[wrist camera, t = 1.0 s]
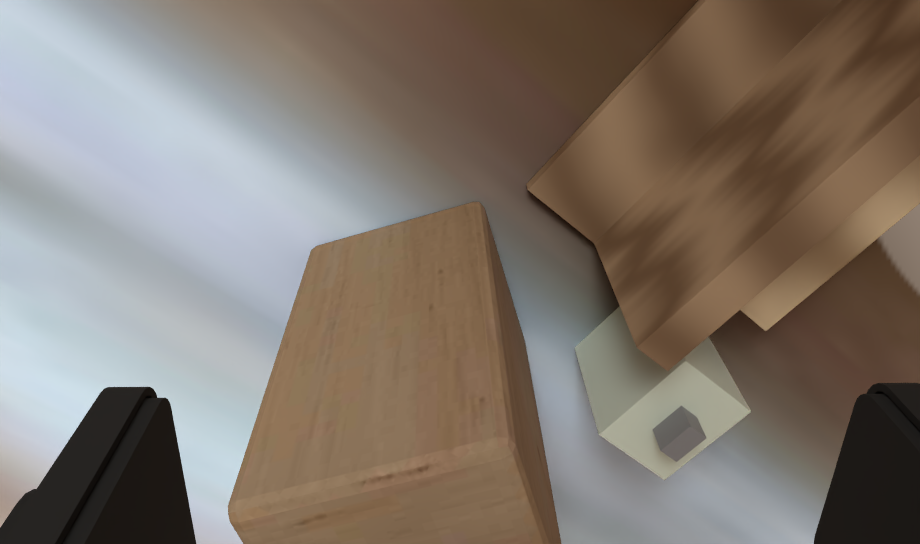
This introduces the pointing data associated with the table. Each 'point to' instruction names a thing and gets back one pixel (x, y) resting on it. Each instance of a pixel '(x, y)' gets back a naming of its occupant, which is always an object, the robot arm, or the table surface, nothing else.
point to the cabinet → (656, 397)
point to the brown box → (745, 161)
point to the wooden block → (400, 400)
